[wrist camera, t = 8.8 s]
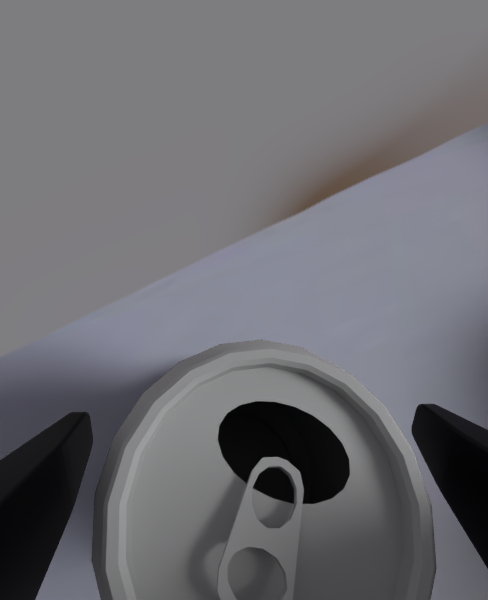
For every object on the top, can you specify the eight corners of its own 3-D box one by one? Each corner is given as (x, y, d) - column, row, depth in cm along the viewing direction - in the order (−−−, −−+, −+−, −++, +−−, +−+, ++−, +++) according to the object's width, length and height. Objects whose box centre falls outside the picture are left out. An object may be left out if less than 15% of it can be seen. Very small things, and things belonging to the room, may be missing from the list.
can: (320, 425, 18) (481, 381, 7) (285, 590, 15) (482, 967, 4) (196, 379, 18) (171, 274, 8) (135, 528, 15) (-58, 710, 4)
